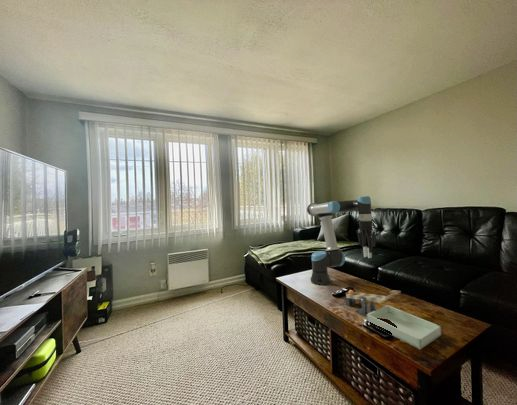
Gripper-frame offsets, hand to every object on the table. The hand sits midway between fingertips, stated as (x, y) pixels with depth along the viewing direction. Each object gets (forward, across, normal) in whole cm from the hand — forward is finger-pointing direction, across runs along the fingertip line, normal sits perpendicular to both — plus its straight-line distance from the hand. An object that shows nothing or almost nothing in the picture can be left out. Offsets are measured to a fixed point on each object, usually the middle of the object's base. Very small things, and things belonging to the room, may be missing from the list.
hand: (367, 257), depth 132 cm
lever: (+20, +9, -10) cm, 24 cm away
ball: (+19, -1, -16) cm, 25 cm away
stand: (+26, +6, -16) cm, 31 cm away
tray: (+26, +27, -16) cm, 41 cm away
